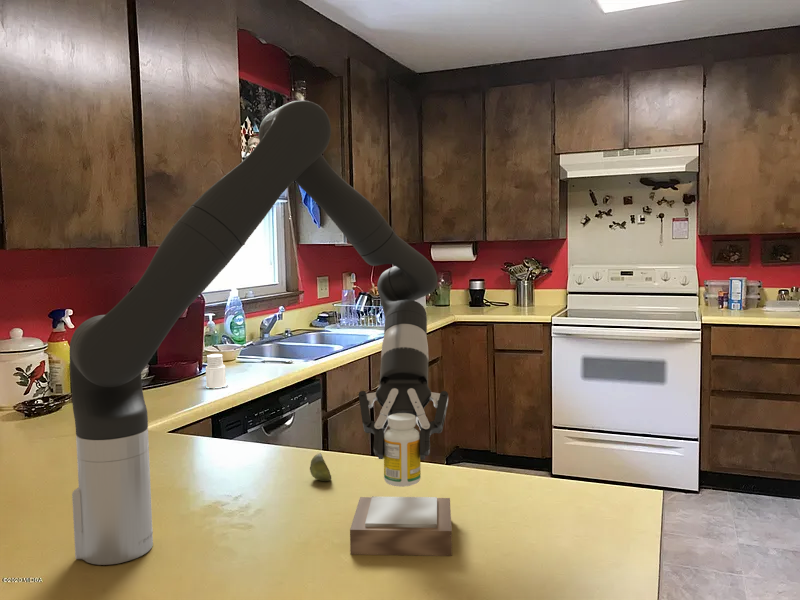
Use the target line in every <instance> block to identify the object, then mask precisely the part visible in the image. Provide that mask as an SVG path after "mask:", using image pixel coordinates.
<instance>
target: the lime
mask: <svg viewBox="0 0 800 600" xmlns="http://www.w3.org/2000/svg"><path fill="white" fill-rule="evenodd" d="M323 457H324V456H323V455H322V453H321V452H320V453H317V454H315V455H314V456H313V457H312V459H311V460H310V466H309V472H310V474H311V477H313V478H314V479H316V480H318V481H321V482H329V481H332V475H331V472H330V469H329V467H328V465H327V463H326V461H325V459H324V458H323Z"/></svg>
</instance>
